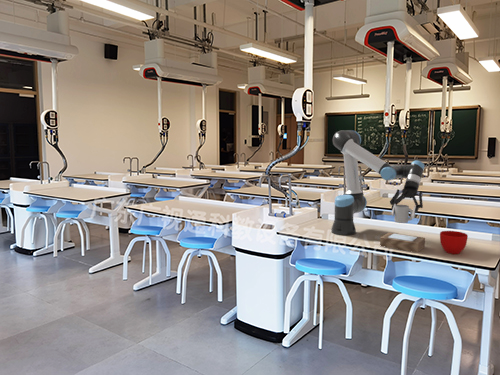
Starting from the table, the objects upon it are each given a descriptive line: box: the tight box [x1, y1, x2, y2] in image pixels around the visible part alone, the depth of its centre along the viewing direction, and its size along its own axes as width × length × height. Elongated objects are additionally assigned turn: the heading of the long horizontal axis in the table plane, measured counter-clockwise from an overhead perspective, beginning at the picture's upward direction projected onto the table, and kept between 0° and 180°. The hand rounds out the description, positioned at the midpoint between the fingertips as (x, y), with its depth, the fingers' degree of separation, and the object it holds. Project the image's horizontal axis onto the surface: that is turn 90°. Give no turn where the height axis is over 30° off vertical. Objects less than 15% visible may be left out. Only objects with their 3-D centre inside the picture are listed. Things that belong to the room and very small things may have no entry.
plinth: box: [379, 232, 426, 253], centre depth 221 cm, size 20×14×5 cm
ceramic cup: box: [439, 230, 468, 255], centre depth 211 cm, size 13×17×10 cm
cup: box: [393, 204, 414, 224], centre depth 219 cm, size 7×10×9 cm
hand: (402, 215), depth 216 cm, fingers closed on cup, 10 cm apart
